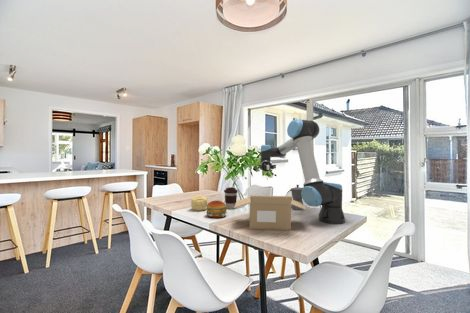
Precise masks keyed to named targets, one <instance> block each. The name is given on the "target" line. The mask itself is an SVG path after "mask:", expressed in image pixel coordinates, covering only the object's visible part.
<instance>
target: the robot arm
mask: <svg viewBox="0 0 470 313" xmlns="http://www.w3.org/2000/svg"><path fill="white" fill-rule="evenodd" d="M286 132H287V135H288V137H289V139H288V140H286V141H285V142H283V143H282V144H281V145H279V146H278V147H271V145H270V144H261V145H260V164H261V165H260V164H257V169H261V170H262V171H263V172H270V171H271V170H276V168H277V164H272V163H271V158H285V157H286V156H287V153H289V152H291V151H293V150H294V149H296V148H297V152H298V156H299V161H300V165H301V170H302V173H303V178H304V183H303V187H304V188H303V187H302V188H303V189H302V192H301V195H302V201H303V203H304V204H306V205H307V206H308V207H309V206H310V207H319V206H321V208H320V210H319V214H318V220H319V221H321V222H323V223H328V224H334V225H335V224H345V223H346V216H345V212H344V210H343V186H342V184H340V183H335V182H334V183H333V182H327V181H326V182H325V181H324V180H322V179H321V177H320V174H319V170H318V165H317V162H316V158H315V154H314V151H313V150H314V149H313V146H312V142H311V141H312V140H315V138H316V137H318V136H319V134H320V126H319V124H318V123H317V122H316V121H314V120H309V119H308V120H307V119H301V118H295V119H293V120H291V121H290V122H289V123H288V126H287V130H286Z"/></svg>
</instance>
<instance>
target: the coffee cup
mask: <svg viewBox="0 0 470 313" xmlns="http://www.w3.org/2000/svg"><path fill="white" fill-rule="evenodd" d="M223 192H224V203H225V205H226V207H227V208H226V209H227V210H235V209H234V207H235V204H236V201H237V198H238V196H237V193H238V190H237V189H236V188H235V187H231V186H230V187H226V188H225V189H224V190H223Z"/></svg>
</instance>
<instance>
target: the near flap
mask: <svg viewBox="0 0 470 313" xmlns="http://www.w3.org/2000/svg"><path fill="white" fill-rule="evenodd" d="M249 197H250V204H282V205H291V201H292V200H293V196H292V195H289V196H288V195H257V194H256V195H253V194H252V195H249ZM250 204H249V205H250Z"/></svg>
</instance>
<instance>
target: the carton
mask: <svg viewBox="0 0 470 313" xmlns="http://www.w3.org/2000/svg"><path fill="white" fill-rule="evenodd" d="M246 205H249V229H250V230H268V231H269V230H270V231H271V230H274V231H275V230H276V231H291V230H292V209H291V205H294V206H296V207H299V208H301V209H303V210H305V211H308V209H307V207H305V206H304V204H303V205H302V204H301V203H300V202H297V201H295V200H293V199H292V201H291V205H282V204H250V196H248V197H246V198H242V199H239V200H236V204H235V207H234V209H233V210H235V209H238V208H241V207H244V206H246Z"/></svg>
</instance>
